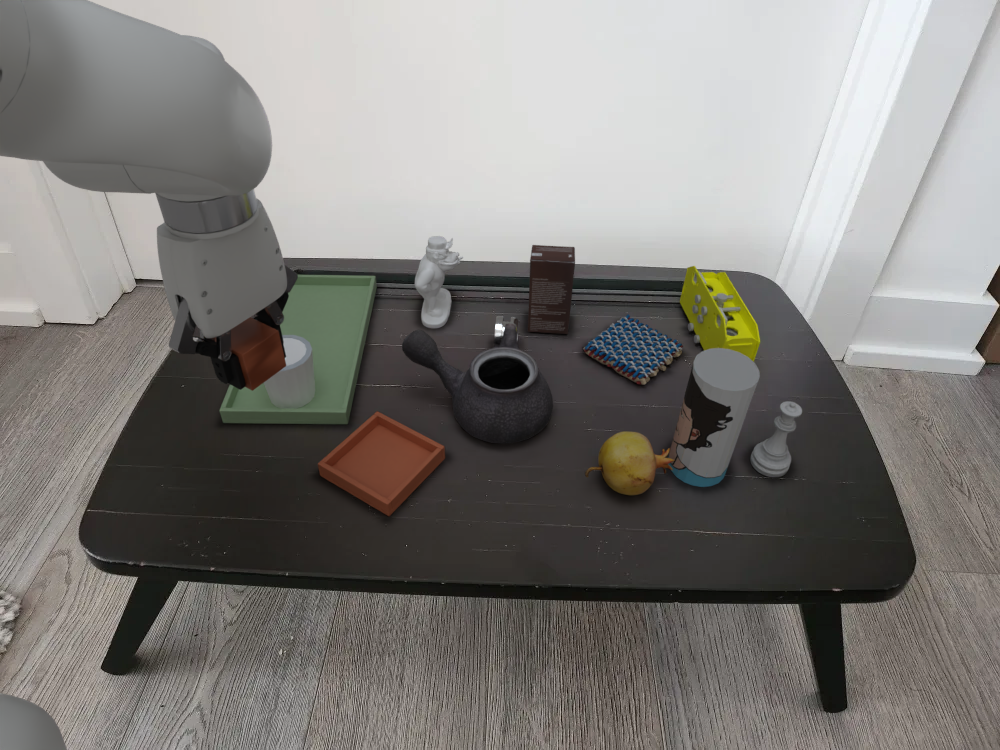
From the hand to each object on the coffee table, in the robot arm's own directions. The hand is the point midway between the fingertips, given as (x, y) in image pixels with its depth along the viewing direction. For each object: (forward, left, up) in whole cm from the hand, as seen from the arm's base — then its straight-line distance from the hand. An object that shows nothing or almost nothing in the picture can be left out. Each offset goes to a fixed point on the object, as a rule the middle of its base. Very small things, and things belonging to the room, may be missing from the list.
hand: (253, 366), depth 72 cm
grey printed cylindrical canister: (+28, -39, -16) cm, 51 cm away
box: (+41, -11, -16) cm, 46 cm away
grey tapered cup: (+10, +8, -16) cm, 20 cm away
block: (0, 0, 0) cm, 0 cm away
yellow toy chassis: (+52, -31, -16) cm, 63 cm away
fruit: (+21, -33, -16) cm, 42 cm away
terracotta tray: (+7, -9, -16) cm, 20 cm away
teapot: (+22, -12, -16) cm, 30 cm away
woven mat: (+42, -24, -16) cm, 51 cm away
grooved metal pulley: (+33, -9, -16) cm, 38 cm away
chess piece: (+33, -46, -16) cm, 59 cm away
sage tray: (+18, +14, -16) cm, 28 cm away
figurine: (+35, +4, -16) cm, 39 cm away
